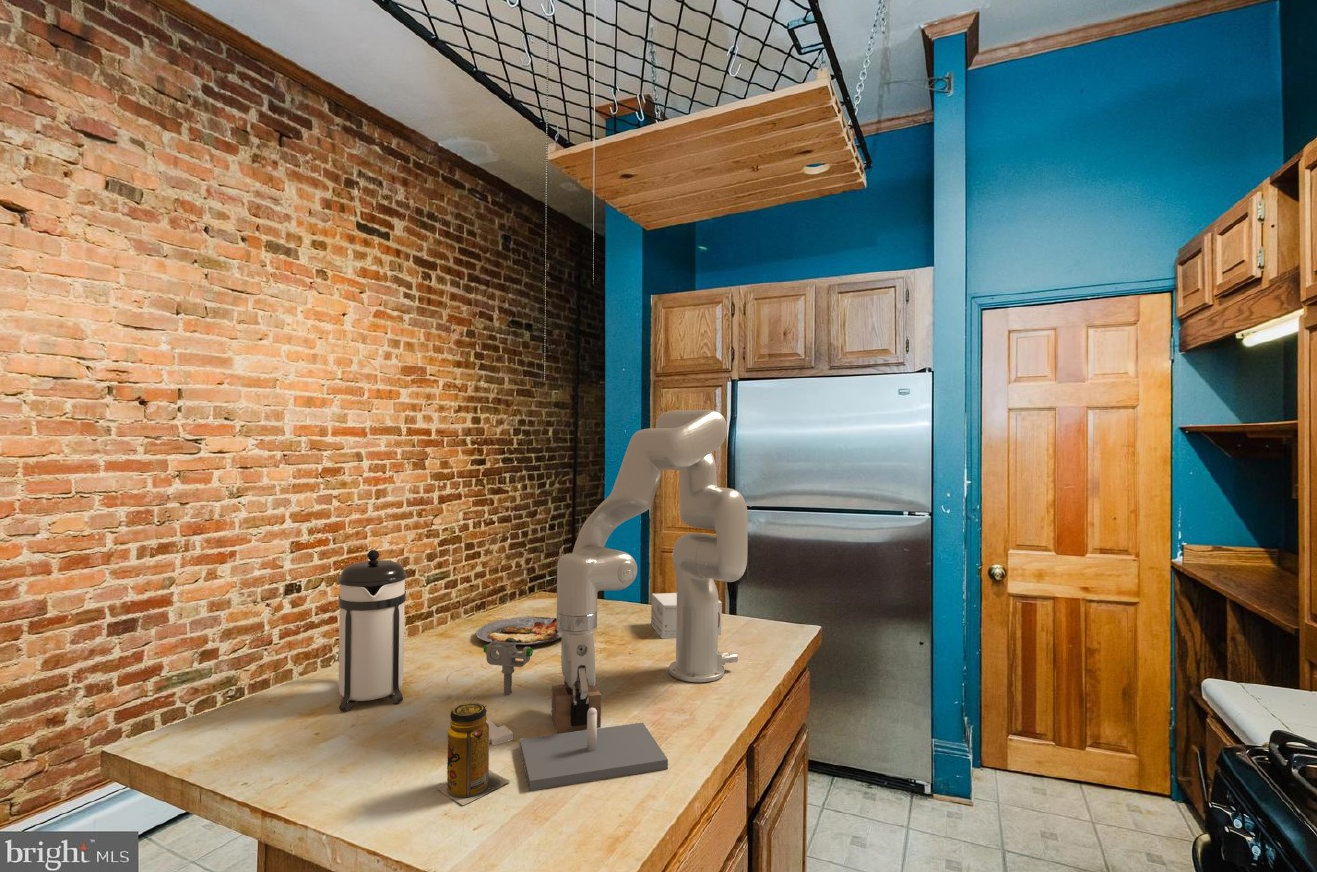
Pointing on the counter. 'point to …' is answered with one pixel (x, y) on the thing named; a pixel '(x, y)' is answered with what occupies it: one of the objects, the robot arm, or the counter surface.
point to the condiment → (469, 755)
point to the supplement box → (670, 614)
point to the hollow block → (563, 706)
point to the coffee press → (371, 630)
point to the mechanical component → (507, 660)
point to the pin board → (590, 754)
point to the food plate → (520, 630)
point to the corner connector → (498, 733)
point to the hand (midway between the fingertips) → (575, 715)
